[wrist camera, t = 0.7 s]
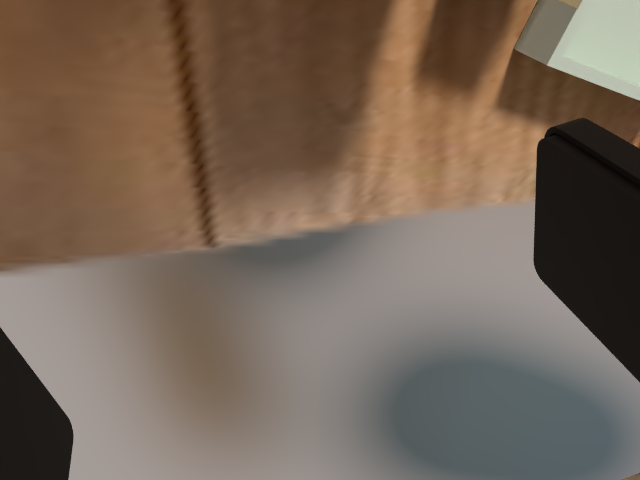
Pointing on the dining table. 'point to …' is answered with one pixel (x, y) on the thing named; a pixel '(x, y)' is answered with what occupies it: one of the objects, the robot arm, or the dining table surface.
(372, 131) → the dining table surface
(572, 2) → the tin
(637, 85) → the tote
